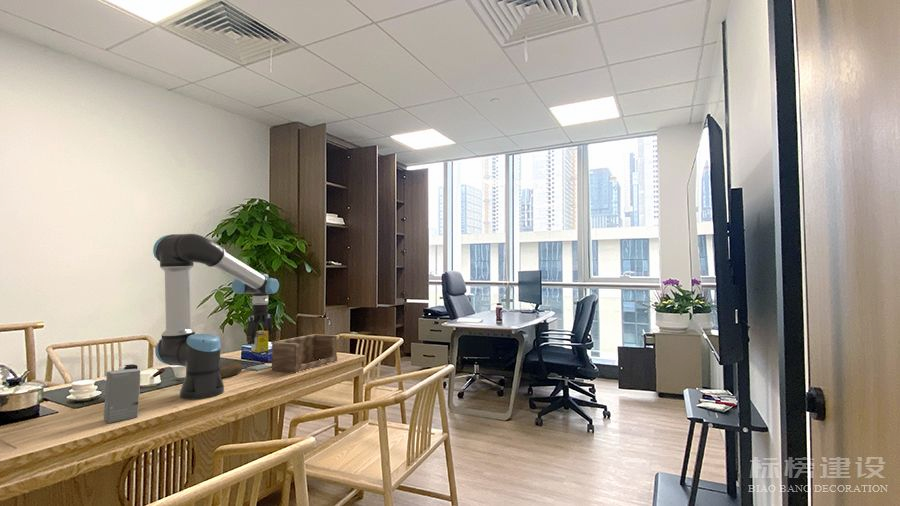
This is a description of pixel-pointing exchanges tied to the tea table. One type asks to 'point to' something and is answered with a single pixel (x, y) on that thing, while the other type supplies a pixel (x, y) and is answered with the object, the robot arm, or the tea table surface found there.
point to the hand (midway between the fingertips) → (259, 348)
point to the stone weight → (230, 369)
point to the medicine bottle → (129, 368)
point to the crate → (303, 352)
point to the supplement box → (261, 342)
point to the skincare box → (121, 395)
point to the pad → (259, 367)
